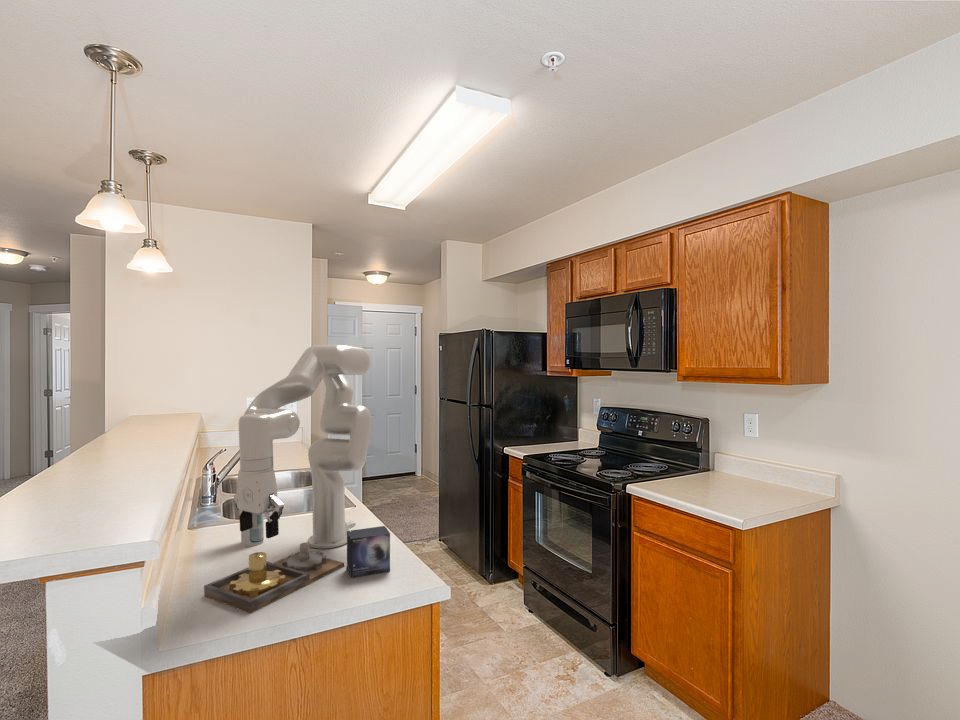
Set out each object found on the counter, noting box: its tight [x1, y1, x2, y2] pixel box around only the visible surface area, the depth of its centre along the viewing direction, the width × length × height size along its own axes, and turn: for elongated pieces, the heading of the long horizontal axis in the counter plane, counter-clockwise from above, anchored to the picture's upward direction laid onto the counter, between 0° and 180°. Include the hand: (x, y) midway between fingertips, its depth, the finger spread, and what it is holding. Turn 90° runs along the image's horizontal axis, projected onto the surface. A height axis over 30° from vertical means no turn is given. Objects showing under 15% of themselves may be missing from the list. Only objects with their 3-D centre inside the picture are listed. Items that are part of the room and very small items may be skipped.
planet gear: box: [230, 551, 285, 598], centre depth 127 cm, size 12×12×8 cm
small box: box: [346, 525, 391, 578], centre depth 138 cm, size 11×6×10 cm, turn 114°
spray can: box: [240, 513, 265, 547], centre depth 159 cm, size 6×6×20 cm
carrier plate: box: [203, 542, 345, 614], centre depth 133 cm, size 29×17×6 cm, turn 150°
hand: (259, 533), depth 128 cm, fingers open, 9 cm apart
